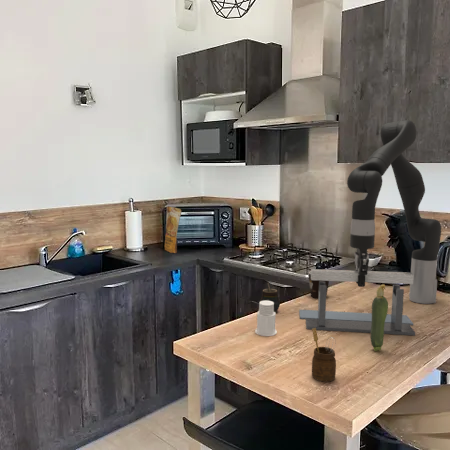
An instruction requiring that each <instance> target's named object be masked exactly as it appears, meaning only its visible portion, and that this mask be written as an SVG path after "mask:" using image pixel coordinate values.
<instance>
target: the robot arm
mask: <svg viewBox="0 0 450 450" xmlns="http://www.w3.org/2000/svg"><path fill="white" fill-rule="evenodd" d="M416 137H417V127H416V125H415V123H414V122H413V121H412V120H409V119H404V120H397V121H392V122H386V123H384V124H382V126H381V128H380V139H381V144H382V146H380V147H379V148H377V149H376V150H374V151H373V153H372V154H370V156H369V157H368V158H367V160H366V161H365V162H363V163H361V165H358V166H357V167H356V168H355V169H353V170H352V171H351V172H350V174H349V175H348V177H347V182H346V184H347V188H348V190H350V191H351V192H354V193H362V194H366V195H365V198H363V199H360V200H359V199H357V200H355V201H353V202H352V206H351V207H352V209H351V223H350V237H349V238H350V240H349V242H350V243H349V246H350V247H351V248H352V249H355V250H356V251H355V252H354V268H355V269H354V270H355V271H358V282H355V283H356V284H357V286H358V287H360V288H364V287H366V282H365V276H366V275H367V272H368V271H369V264H370V254H369V253H368V250H371V249H374V247H375V237H376V236H375V235H376V222H375V219H376V218H375V216H376V205H377V202H378V198H379V195H380V191H381V190H382V186H383V176H384V174H385V173H386V172H387V171H388V169H389V168H390V166H391V168H392V171H393V175H394V179H395V182H396V186H397V189H398V194H399V196H400V198H401V203H402V207H403V209H404V213H405V214H404V215H405V220H406V225H407V230H408V235H409V236H410V237H409V238H411V239H412V240H414V241H417V242H423V243H424V246H423V247H422V248H418V249H414V250H413V251H412V252H411V264H410V273H412V274H413V275H414V277H413V284H409V294H408V297H409V298H408V300H409V301H411V302H413V303H417V304H423V305H424V304H427V305H428V304H436V303H437V292H438V291H437V288H438V279H437V267H438V266H437V263H438V256H439V253H440V252H439V251H440V242H441V235H442V225H441V222H440V221H439V220H438V219H433V218H425V217H424V218H423V217H421V214H420V209H419V208H420V204H421V202H422V200H423V197H424V195H425V193H426V187H425V182H424V178H423V176H422V173H421V172H420V170H419V169H418V168H417V167H416V166H415V165H414V164H412V162H410V160H409V159H408V158H406V157H405V156H404V154H403V153H404V152H405V151H406V150H407V149H408V148H410V147H411V146H412V145H413V144H414V143H415V141H416Z"/></svg>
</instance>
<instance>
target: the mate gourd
mask: <svg viewBox="0 0 450 450" xmlns="http://www.w3.org/2000/svg"><path fill="white" fill-rule="evenodd" d="M267 287H268V288H264V289H262V292H261V293H262V294H261V298H260V299H259V300H260V301H265V300H267V301H272V302H274V312H275V313H276V312H277V311H278V310H279V307H281V303H280V299H279V294H278V290H277V289H275V288H271V287H270V282H267ZM260 301H259V302H260Z"/></svg>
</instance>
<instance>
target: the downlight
mask: <svg viewBox="0 0 450 450" xmlns="http://www.w3.org/2000/svg"><path fill="white" fill-rule="evenodd" d="M258 304H259V307H258V308H259V309H258V311H257V312H256V317H257V318H256V328H255V330H254V332H255V334H257V335H258V336H262V337H271V336H272V337H273V336H275V335H276V334H278V333H277V332H278V331H277V329H276V316H277V314H276V312H274V302H272V301H267V300H265V301H259V303H258Z"/></svg>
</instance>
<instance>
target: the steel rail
mask: <svg viewBox="0 0 450 450" xmlns="http://www.w3.org/2000/svg"><path fill="white" fill-rule="evenodd" d="M310 271H311V280H322V281H329V282H330V281H331V282H352V283H356V282H358V271H356V270H351V269H350V270H345V269H342V270H341V269H318V268H317V269H315V268H311V269H310ZM413 277H414V275H413V274H412V273H411V271H410V272H403V271H377V270H375V271H374V270H373V271H371V270H368V272H367V275H366V276H365V283H378V284H381V283H382V284H405V285H406V284H407V285H408V284H409V285H410V284H413Z"/></svg>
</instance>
